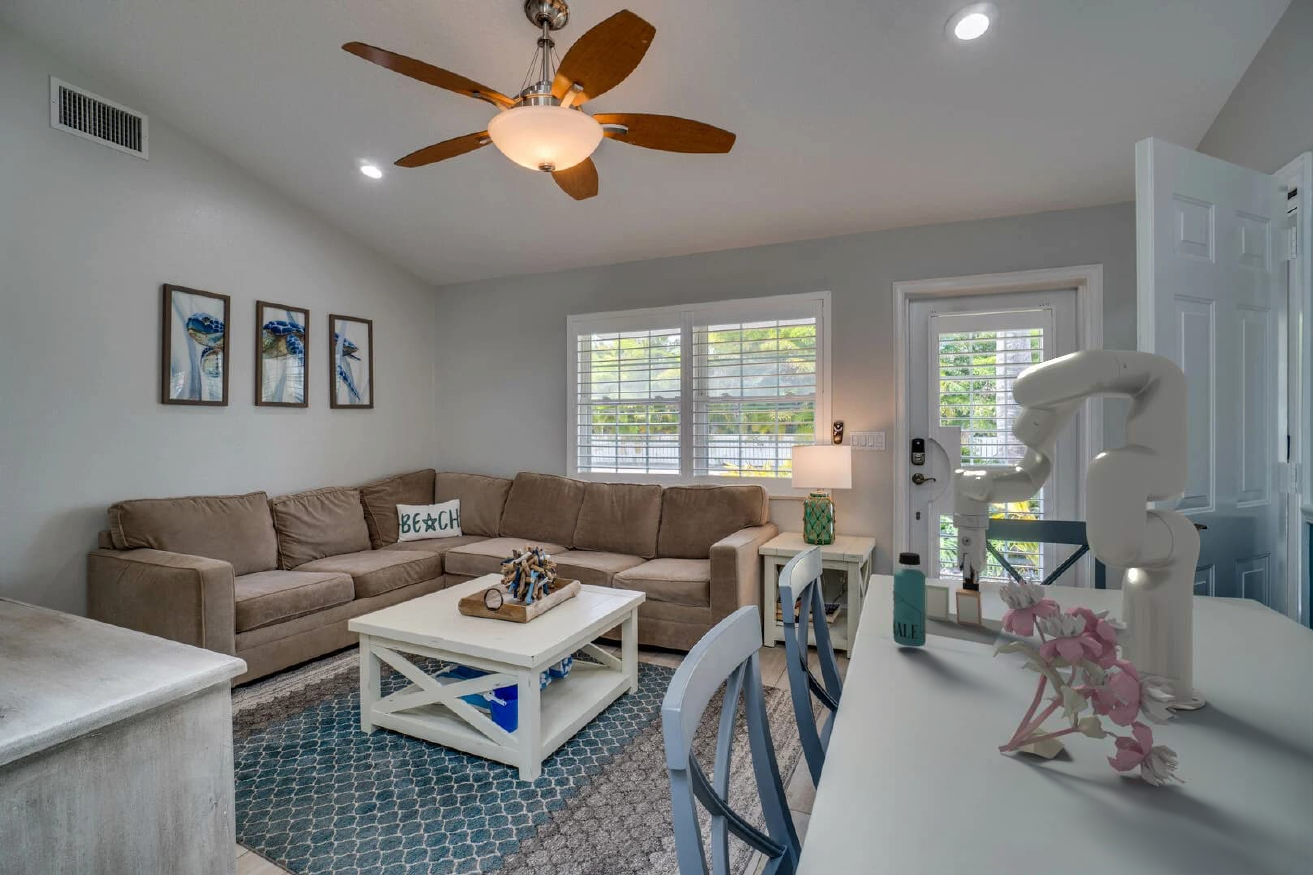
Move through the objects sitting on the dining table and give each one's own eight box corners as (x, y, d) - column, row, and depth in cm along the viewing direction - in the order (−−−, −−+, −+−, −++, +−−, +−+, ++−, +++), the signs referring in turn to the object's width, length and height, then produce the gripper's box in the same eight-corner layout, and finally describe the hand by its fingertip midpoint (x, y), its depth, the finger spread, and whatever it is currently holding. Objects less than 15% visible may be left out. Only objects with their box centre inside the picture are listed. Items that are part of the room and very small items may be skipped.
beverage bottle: (920, 644, 132) (920, 550, 132) (931, 655, 125) (931, 556, 125) (888, 643, 132) (888, 549, 132) (897, 654, 126) (897, 555, 126)
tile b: (947, 621, 145) (947, 587, 145) (925, 618, 148) (925, 584, 148) (949, 619, 147) (949, 586, 147) (926, 616, 150) (926, 583, 150)
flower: (1071, 818, 69) (1165, 616, 70) (930, 712, 91) (1002, 558, 91) (1180, 860, 75) (1265, 673, 76) (1023, 750, 96) (1090, 606, 97)
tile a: (981, 627, 141) (979, 595, 140) (957, 623, 144) (955, 591, 143) (982, 623, 143) (980, 591, 141) (958, 619, 146) (956, 588, 144)
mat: (993, 647, 129) (993, 644, 129) (894, 630, 141) (894, 627, 141) (1005, 624, 146) (1005, 621, 146) (915, 610, 157) (915, 607, 157)
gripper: (983, 526, 136) (983, 610, 136) (993, 519, 148) (993, 596, 148) (946, 523, 141) (946, 604, 141) (959, 517, 153) (959, 591, 153)
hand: (970, 600), depth 144 cm, fingers closed
